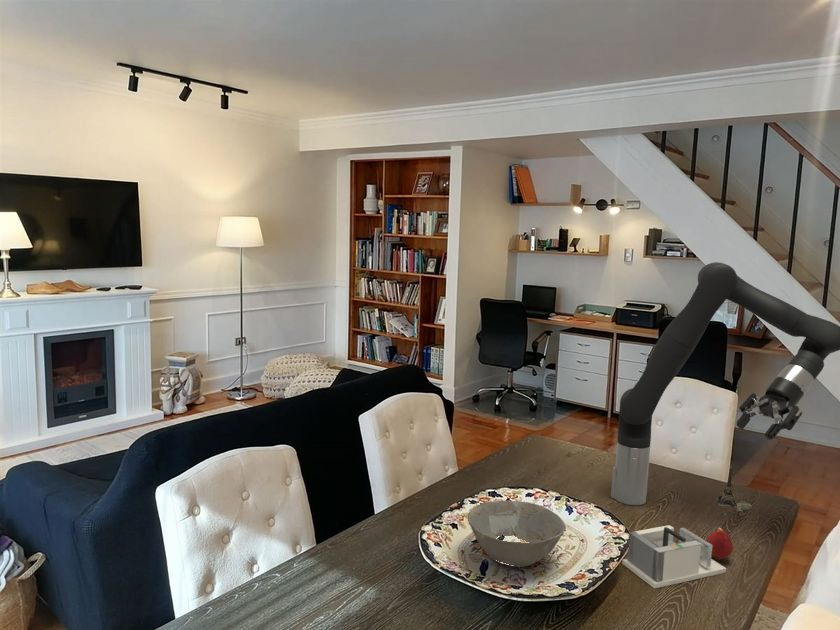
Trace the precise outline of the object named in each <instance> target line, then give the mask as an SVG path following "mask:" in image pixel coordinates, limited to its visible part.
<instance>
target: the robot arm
mask: <svg viewBox="0 0 840 630" xmlns="http://www.w3.org/2000/svg"><path fill="white" fill-rule="evenodd" d="M697 283H698V284H697V286H696V288H695V290H694V292H693V293H692V295H691V297H690V299H689V301H688V302H687V304H686V305H685V306H684V307H683V309H682V310H681V311H680V312H679V313H678V314H677V315H676V316H675V317H674V318H673V320H671V322H670V323H669V324H668V325H667V327H666V328H665V329H664V330H663V333H662V334H661V335H660V337H659V339H658V340H657V342H656V344H655V346H654V348H653V349H652V352H651V354H650V355H649V358H648V361H647V363H646V365H645V368H644V371H643V373H642V374H641V376H640V378H639V380H637V382H636V384H635V385H634V387H632V388H629V389H627V390H626V391H624V393H622V395H621V396H620V400H619V401H620V402H619V412H618V426H617V439H616V440H617V441H616V443H617V444H616V454H615V465H614V466H613V467H612V476H611V487H610V488H611V489H610V498H612V499H614V500H616V501H617V502H619V503H621V504H624V505H629V506H641V505H644V504H645V503H646V502H647V496H648V495H647V491H648V480H649V479H648V478H649V467H650V455H651V454H650V452H651V441H652V421H653V414H654V412H655V411H656V409H657V406H658V404H659V402H660V400H661V399H662V397H663V394H664V392H665V391H666V389H667V387H668V386H669V385H670V384H671V383H672V381H673V380H674V379H675V377H676V376H677V375H678V373H679V372H680V371H681V369H682V368H683V367H684V365H685V364H686V362H687V361H688V359H689V358H690V356H691V355H692V353H693V352H694V350H695V349H696V348H697V345H698V344H699V341H700V340H701V338H702V337H703V335H704V333H705V331H706V329H707V328H708V326H709V324H710V322H711V320H712V319H713V317H714V315H716V313H717V311H718V310H719V309H720V308H721V307H722V305H723V304H724V303H725V301H727V300H728V301H730V302H733V303H734V304H736V305H739V306H740V307H741V308H744V309H745V310H747V311H749V312H750V313H751V314H753V315H755V316H757V318H760V319H761V320H763V321H764V322H766V323H767V324H770V325H771V326H772V327H774V328H775V329H778V330H780V331H781V332H783V333H785V334H787V335H788V336H790V337H793V338H794V337H796V338H797V337H803V338H804V340H803V341H802V342H801V345H800V346H799V349H798V351H797V353H796V354H795V355H794V356H793V358H792V359H791V360H790V361H789V362H788V364H787V365H786V366H785V367H784V368H783V369H782V370H781V371H780V372H779V373H778V375H777V376H776V377H775V378H774V380H773V381H772V382H771V383H770V384H769V385H768V386H767V388H766V390H765V394H764V395H763V396H758V395H756V393H755V392H752V393H751V394H749V396H748V397H747V398H746V399H745V401H743V403H742V404H741V405H740V406H739V408H738V409H739V411H740V412H741V413H742V414H741V416H740V417H739V418H738V420H737V421H736V426H737V428H738V429H740V430H744V429H745V427H746V426H747V424H749V422H750V421H751V419H754V418H755V417H758V418H759V417H761V416H764V417H769V418H771V419H774V423H772V424H771V425H770V427H768V429H766V430H765V433H764V436H765V438H766V439H767V440H769V441H771V440H772V439H775V438H776V436H778V434H779V433H780V432H781V431H782V430H787V431H791V430H792V429H793V428H794V427H795V425H796V424H797V423H798V420H799V419H800V418H801V416H802V415H803V412H802V411H801V409H800V408H799V406H798V405H797V404H798V403H799V402H800V401H801V399H802V398H803V397H804V396H805V394H807V392H808V391H809V389H810V387H811V386H812V384H813V383H814V381H815V380H816V379H817V377H818V376H819V375H820V373H821V372H823V369H824V366H825V362H824V361H825V359H826V358H827V357H828V356H829V355H831V354H832V353H835V352H838V351H839V352H840V325H838V324H836V323H834V322H832V321H829V320H827V319H824V318H821V317H819V316H816V315H811V314H808V313H806V312H804V311H803V310H801V309H799V308H798V307H796V306H794V305H792V304H790V303H788V302H786V301H784V300H782V299H780V298H778V297H776V296H774V295H772V294H769V293H767V292H765V291H763V290H761V289H759V288H757V287H755V286H753V285H752V284H750V283H748V282H747V281H745V280H744V279H743V278H741V277H740V276H739V275H738V274H737V271H735V269H734V268H733V267H732V266H730V265H728V264H726V263H724V262H717V261H714V262H710V263H707V264H706V265H704V266H703V267H702V268H701V269H700V270H699V272H698V275H697ZM758 409H759V410H758ZM786 414H787V415H786ZM785 415H786V416H785Z"/></svg>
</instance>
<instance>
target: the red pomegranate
mask: <svg viewBox="0 0 840 630" xmlns="http://www.w3.org/2000/svg"><path fill="white" fill-rule="evenodd" d="M705 541H707V542H708V543H710V544H712V556H713V557H714V559H715V560H722V559H726V558H727V557H729V556H730V555H731V554H732V553H733V550H734V546H733V540H732V539H731V538H730V536H729V535H728V534H727V533H726V532H725V531H724V530H723V528H722V527H717V530H714V531H713V532H711V533H710V534H709V535H708V536H707V538H706V540H705Z"/></svg>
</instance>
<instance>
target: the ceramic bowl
mask: <svg viewBox="0 0 840 630" xmlns="http://www.w3.org/2000/svg"><path fill="white" fill-rule="evenodd" d="M467 521H468V522H467V523H468V525H469V526H470V529H471V531H472V532H473V535H474V536H475V539H476V540H477V542H478V543H479V545H480V546H481V549H482V550H483V551H484V552H485V553H486V554H487V556H488V555H489V556H490V557H489V556H488V557H489V558H491V559H492V558H493V559H495V560H497V561H499V562H503V563H506V564H509V565H514V566H526V567H528V566H531V565H532V566H533V564H535V563H538V562H540V560H542V559H545V557H547V556H548V555H549V554H550V553H551V552H553V550H554V548H555V547H556V545H557V544H558V542H559V541H560V539H561V537H562V536H563V535H564V533H565V531H566V529H567V528H566V527H567V526H566V524H565V522H564V520H563V519H562V518H561V517H560V516H559V515H558V514H557V513H555V512H553V511H552V510H550V509H549V508H547V507H544V506H543V505H539V504H537V503H532V502H528V501H520V500H519V501H518V500H510V499H509V500H494V501H493V500H492V501H491V500H490V501H484V502H482V503H480V504H477V505H476V506H475V507H473V508H471V509H470V510H469V511H468V513H467ZM502 535H503V536H512V535H514V536H515V537H517V538H518V539H522V540H525V541H526V542H529V543H521V542H507V541H503V540H499V539H496V538H497V537H498V536H502ZM493 559H492V560H493ZM495 560H494V561H495ZM497 561H496V562H497Z"/></svg>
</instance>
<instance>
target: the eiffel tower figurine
mask: <svg viewBox="0 0 840 630" xmlns="http://www.w3.org/2000/svg"><path fill="white" fill-rule="evenodd" d="M732 468H733V465H732V464H730V465H729V469H728V470H729V471H728V475H727V476H728V477H727V481H726V485H725V487H724V490H723V491H721V493H720V495H719V496H717V497H716V501H717V504H718V506H721V507H728V508H736V511H725V510H723V511H722V512H721V514H724V515H726V516H727V515H730V514H731V515H732V514H736V513H739V512H743V511H747V510H751V509H752V508H753V506H752V504H751V503H749V502H747V501H743V500H742V501H740V502H738V503H737V501H736V500H735V498H736V497H737V498H739V496H737V495H736V494H734V493H733V490H732V489H733V487H732Z"/></svg>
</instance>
